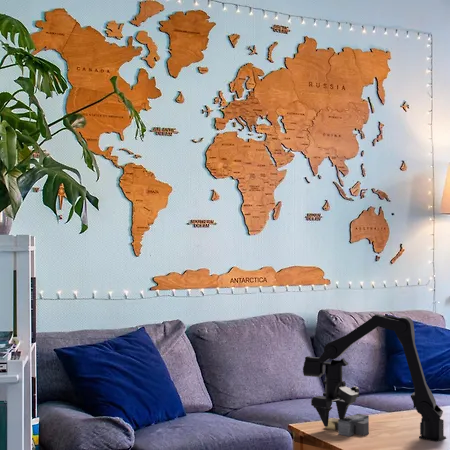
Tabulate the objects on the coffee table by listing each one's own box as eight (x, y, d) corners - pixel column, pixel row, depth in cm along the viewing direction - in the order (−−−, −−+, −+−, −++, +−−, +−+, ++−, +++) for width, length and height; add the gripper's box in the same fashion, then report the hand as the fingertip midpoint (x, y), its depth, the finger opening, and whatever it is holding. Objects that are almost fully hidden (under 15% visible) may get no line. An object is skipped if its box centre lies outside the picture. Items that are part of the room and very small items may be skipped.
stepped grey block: (368, 433, 240) (368, 422, 240) (363, 435, 238) (363, 423, 238) (340, 428, 248) (340, 417, 248) (335, 429, 245) (335, 418, 246)
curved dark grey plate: (368, 429, 245) (368, 415, 245) (348, 436, 237) (348, 421, 237) (358, 427, 248) (358, 413, 248) (338, 434, 239) (338, 419, 240)
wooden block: (341, 428, 248) (341, 419, 248) (334, 430, 245) (334, 421, 245) (329, 426, 251) (329, 417, 252) (322, 428, 248) (322, 419, 249)
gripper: (337, 384, 236) (337, 433, 236) (369, 377, 250) (369, 423, 249) (310, 380, 244) (310, 427, 243) (342, 373, 257) (342, 418, 257)
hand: (333, 424), depth 248 cm, fingers open, 9 cm apart
